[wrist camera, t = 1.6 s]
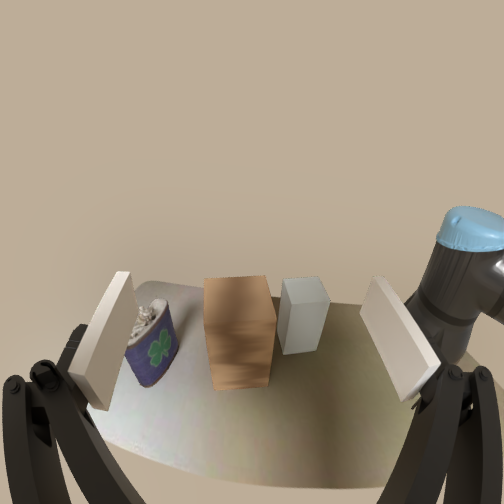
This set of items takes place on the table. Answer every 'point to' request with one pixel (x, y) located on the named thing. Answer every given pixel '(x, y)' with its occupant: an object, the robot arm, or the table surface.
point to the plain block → (239, 331)
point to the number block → (301, 314)
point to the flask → (152, 343)
